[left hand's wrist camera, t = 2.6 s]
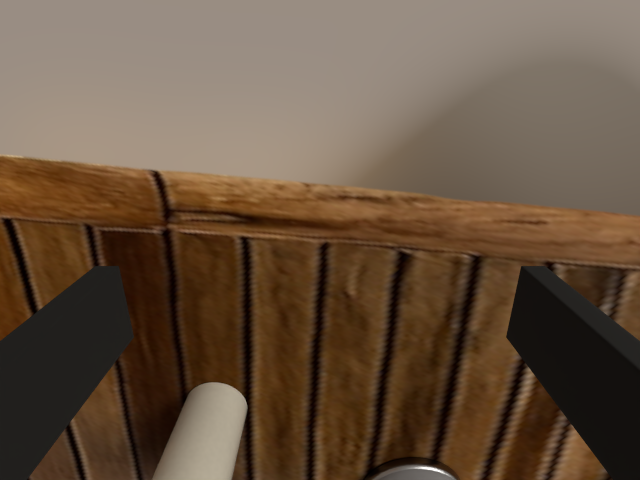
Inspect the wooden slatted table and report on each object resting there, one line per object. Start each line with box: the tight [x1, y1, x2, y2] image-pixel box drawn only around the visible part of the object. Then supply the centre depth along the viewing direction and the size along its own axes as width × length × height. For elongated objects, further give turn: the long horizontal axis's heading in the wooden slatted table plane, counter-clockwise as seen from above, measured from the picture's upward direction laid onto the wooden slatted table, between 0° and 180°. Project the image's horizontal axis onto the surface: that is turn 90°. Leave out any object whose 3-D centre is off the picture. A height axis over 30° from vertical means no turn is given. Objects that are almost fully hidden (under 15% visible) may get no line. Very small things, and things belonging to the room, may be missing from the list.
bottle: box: [151, 382, 247, 480], centre depth 42 cm, size 8×8×19 cm
